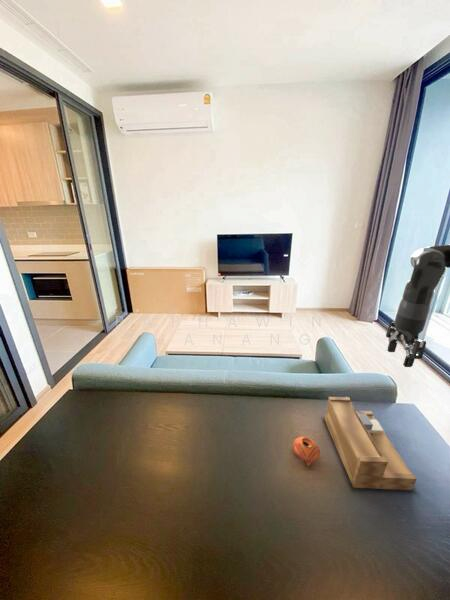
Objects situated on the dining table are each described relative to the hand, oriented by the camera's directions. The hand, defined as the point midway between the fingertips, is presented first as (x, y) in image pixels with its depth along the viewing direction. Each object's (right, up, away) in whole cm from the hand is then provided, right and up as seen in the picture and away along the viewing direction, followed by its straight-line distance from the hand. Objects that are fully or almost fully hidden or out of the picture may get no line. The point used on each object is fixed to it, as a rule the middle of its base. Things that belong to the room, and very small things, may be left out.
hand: (398, 358), depth 81 cm
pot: (-33, -30, -5) cm, 44 cm away
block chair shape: (-10, -23, +1) cm, 25 cm away
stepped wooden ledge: (-14, -29, -2) cm, 32 cm away
